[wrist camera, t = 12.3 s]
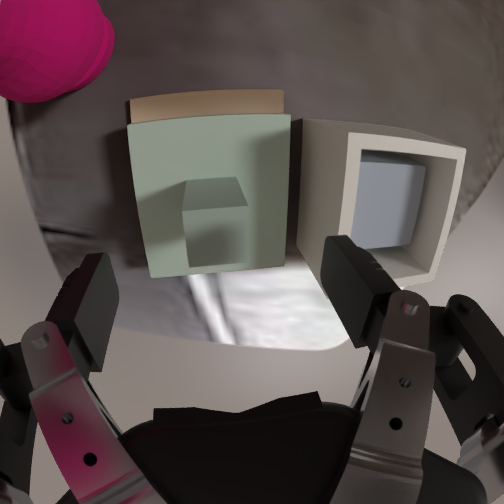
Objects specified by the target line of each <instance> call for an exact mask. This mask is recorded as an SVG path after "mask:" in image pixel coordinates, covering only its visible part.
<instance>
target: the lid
mask: <svg viewBox="0 0 504 504" xmlns="http://www.w3.org/2000/svg"><path fill="white" fill-rule="evenodd" d="M290 121H291V115H290V114H286V113H239V114H215V115H200V116H187V117H177V118H167V119H159V120H151V121H143V122H136V123H131V124H129V125H127V129H128V140H129V150H130V158H131V167H132V174H133V182H134V189H135V195H136V202H137V208H138V214H139V220H140V226H141V231H142V236H143V242H144V247H145V252H146V256H147V261H148V266H149V270H150V275H151V278H158V277H170V276H182V275H194V274H206V273H217V272H228V271H239V270H250V269H261V268H271V267H281V266H284V264H285V247H286V229H287V209H288V186H289V158H290Z"/></svg>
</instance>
